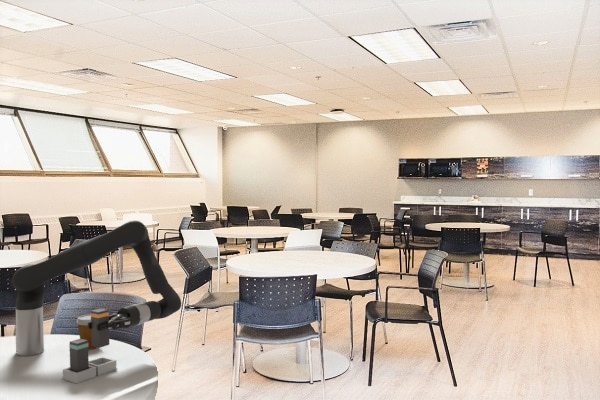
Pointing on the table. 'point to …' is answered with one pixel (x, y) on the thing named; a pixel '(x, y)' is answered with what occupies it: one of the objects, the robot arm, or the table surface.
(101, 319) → the plug
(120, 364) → the table surface
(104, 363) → the grey double socket holder
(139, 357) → the table surface
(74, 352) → the twin plug
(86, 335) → the disposable coffee cup
